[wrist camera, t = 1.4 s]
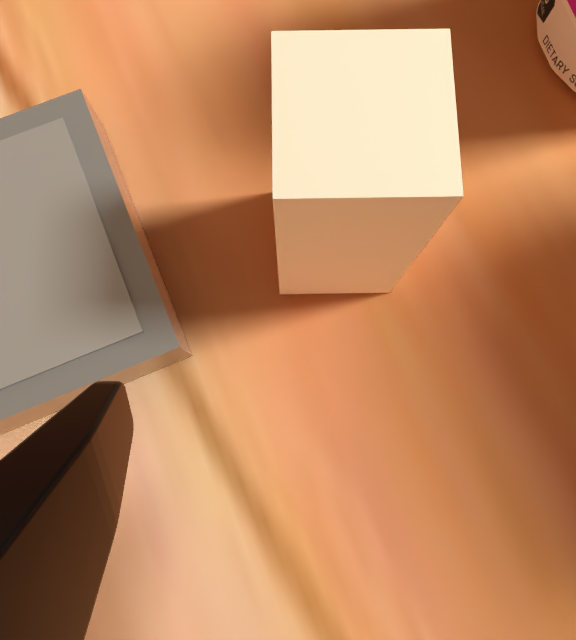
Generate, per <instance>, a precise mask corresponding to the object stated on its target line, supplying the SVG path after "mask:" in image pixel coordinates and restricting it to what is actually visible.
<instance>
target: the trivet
mask: <svg viewBox="0 0 576 640" xmlns="http://www.w3.org/2000/svg"><path fill="white" fill-rule="evenodd" d="M190 356H192V354H191V351H190V349H189V346H188V343H187V341H186V338H185V336H184V333H183V330H182V328H181V325H180V323H179V320H178V318H177V315H176V312H175V310H174V307H173V305H172V302H171V300H170V297H169V294H168V292H167V289H166V287H165V284H164V281H163V279H162V276H161V274H160V271H159V269H158V266H157V263H156V261H155V258H154V256H153V253H152V251H151V248H150V245H149V243H148V240H147V238H146V235H145V232H144V230H143V227H142V225H141V222H140V220H139V217H138V214H137V212H136V209H135V207H134V204H133V202H132V199H131V196H130V194H129V191H128V189H127V186H126V183H125V181H124V178H123V176H122V173H121V171H120V168H119V165H118V163H117V160H116V158H115V155H114V153H113V150H112V147H111V145H110V142H109V140H108V137H107V134H106V132H105V129H104V127H103V124H102V123H101V121H100V119H99V118H98V116H97V114H96V113H95V111H94V110H93V108H92V106H91V105H90V103H89V102H88V100H87V98H86V97H85V95H84V94H83V92H82V90H81V89H79V90H76V91H74V92H71V93H68V94H66V95H63V96H60V97H57V98H55V99H52V100H49V101H47V102H44V103H41V104H38V105H36V106H33V107H30V108H28V109H25V110H22V111H19V112H17V113H14V114H11V115H9V116H6V117H3V118H0V435H1V434H3V433H6V432H8V431H11V430H13V429H16V428H18V427H20V426H23V425H25V424H28V423H30V422H33V421H35V420H37V419H40V418H42V417H45V416H47V415H50V414H52V413H54V412H57V411H59V410H61V409H62V408H64V407H65V406H66V405H67V404H68V403H70V402H71V401H72V400H73V399H74V398H76V397H77V396H78V395H79V394H80V393H82V392H83V391H84V390H85V389H86V388H88V387H89V386H90V385H91V384H93V383H94V382H98V381H120V382H122V383H123V384H125V383H127V382H130V381H132V380H135V379H137V378H139V377H142V376H144V375H147V374H149V373H152V372H154V371H156V370H159V369H161V368H164V367H166V366H169V365H171V364H173V363H176V362H178V361H181V360H183V359H186V358H188V357H190Z"/></svg>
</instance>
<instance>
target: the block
mask: <svg viewBox="0 0 576 640" xmlns="http://www.w3.org/2000/svg"><path fill="white" fill-rule="evenodd" d="M271 61H272V182H273V210H274V224H275V237H276V251H277V264H278V277H279V291H280V294H338V293H390V292H391V291H392V289H393V288H394V287H395V285H396V284H397V283H398V281H399V280H400V279H401V277H402V276H403V275H404V274H405V272H406V271H407V270H408V268H409V267H410V266H411V264H412V263H413V262H414V260H415V259H416V258H417V257H418V255H419V254H420V253H421V251H422V250H423V249H424V247H425V246H426V245H427V243H428V242H429V241H430V239H431V238H432V237H433V236H434V234H435V233H436V232H437V230H438V229H439V228H440V226H441V225H442V224H443V222H444V221H445V220H446V218H447V217H448V216H449V215H450V213H451V212H452V211H453V209H454V208H455V207H456V205H457V204H458V203H459V201H460V200H461V199H462V197H463V185H462V172H461V160H460V147H459V135H458V122H457V110H456V97H455V85H454V72H453V60H452V47H451V35H450V29H381V30H307V31H271Z"/></svg>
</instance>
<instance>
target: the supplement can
mask: <svg viewBox="0 0 576 640" xmlns="http://www.w3.org/2000/svg"><path fill="white" fill-rule="evenodd" d="M536 19H537V35H538V41H539V43H540V45H541V47H542V49H543V52H544V54H545V56H546V58H547V60H548V62H549V64H550V67H551V68H552V69H553V70H554V72H555V73H556V74H557V75H558V76H559V77H560V78H561V79H562V80H563V81H564V82H565V83H566V84H567V85H568V86H569V87H570V88H571V89H572V90H573V91H574V92H575V93H576V0H540V1H539V4H538V6H537V9H536Z"/></svg>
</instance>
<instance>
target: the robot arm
mask: <svg viewBox="0 0 576 640" xmlns="http://www.w3.org/2000/svg"><path fill="white" fill-rule="evenodd" d="M132 437H133V418H132V414H131V409H130V405H129V401H128V397H127V393H126V389H125V386H124V385H123V383H122V382H120V381H98V382H94V383H93V384H91V385H90V386H89V387H88V388H86V389H85V390H84V391H83V392H82V393H80V394H79V395H78V396H77V397H76V398H74V399H73V400H72V401H71V402H70V403H68V404H67V405H66V406H65V407H64V408H62V409H61V410H60V411H59V412H58V413H56V414H55V415H54V416H53V417H51V418H50V419H49V420H48V421H47V422H45V423H44V424H43V425H42V426H41V427H39V428H38V429H37V430H36V431H35V432H33V433H32V434H31V435H30V436H29V437H27V438H26V439H25V440H24V441H23V442H21V443H20V444H19V445H18V446H17V447H15V448H14V449H13V450H12V451H11V452H9V453H8V454H7V455H6V456H5V457H3V458H2V459H1V460H0V640H84V639H85V635H86V632H87V628H88V625H89V621H90V618H91V615H92V611H93V608H94V604H95V601H96V598H97V594H98V591H99V587H100V584H101V580H102V577H103V574H104V570H105V567H106V563H107V560H108V556H109V553H110V550H111V546H112V543H113V539H114V535H115V532H116V528H117V524H118V519H119V513H120V508H121V502H122V496H123V490H124V484H125V479H126V473H127V467H128V461H129V455H130V449H131V443H132Z"/></svg>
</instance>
